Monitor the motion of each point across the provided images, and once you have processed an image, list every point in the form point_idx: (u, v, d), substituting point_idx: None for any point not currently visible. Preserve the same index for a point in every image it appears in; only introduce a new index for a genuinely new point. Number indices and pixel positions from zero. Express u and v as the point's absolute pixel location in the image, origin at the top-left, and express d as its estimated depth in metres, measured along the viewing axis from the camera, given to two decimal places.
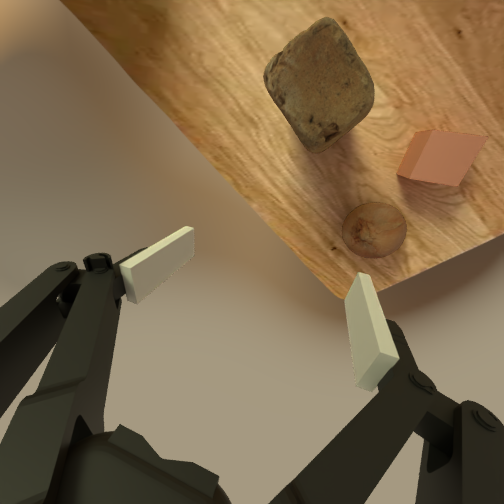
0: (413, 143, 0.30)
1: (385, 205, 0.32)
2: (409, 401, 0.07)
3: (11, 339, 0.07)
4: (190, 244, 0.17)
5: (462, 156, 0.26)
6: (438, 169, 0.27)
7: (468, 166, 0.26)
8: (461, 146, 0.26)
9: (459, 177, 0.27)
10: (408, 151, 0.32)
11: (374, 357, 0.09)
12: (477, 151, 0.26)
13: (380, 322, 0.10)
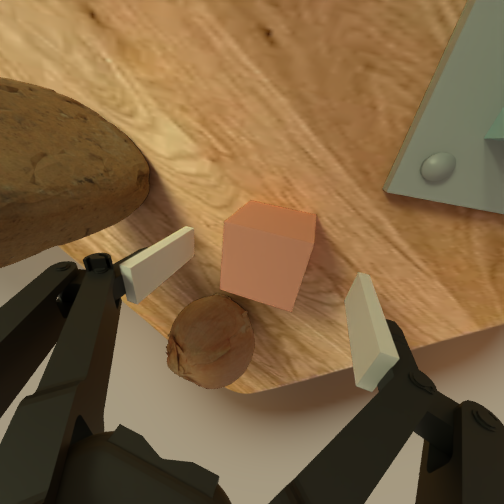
0: None
1: (212, 314, 0.20)
2: (409, 401, 0.07)
3: (11, 339, 0.07)
4: (190, 244, 0.17)
5: (284, 269, 0.14)
6: (255, 283, 0.15)
7: (297, 285, 0.14)
8: (276, 253, 0.14)
9: (289, 299, 0.15)
10: None
11: (374, 357, 0.09)
12: (304, 265, 0.13)
13: (380, 322, 0.10)
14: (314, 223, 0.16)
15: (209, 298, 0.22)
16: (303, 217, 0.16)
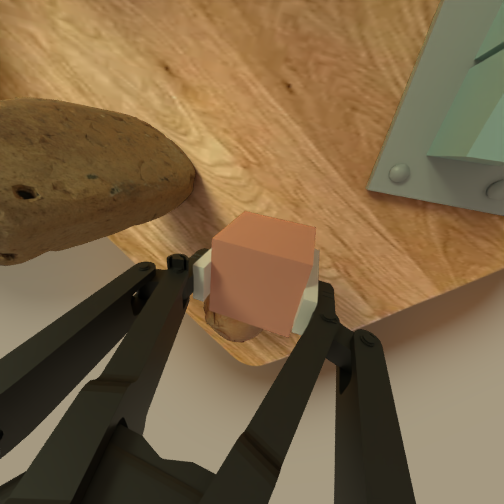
0: None
1: None
2: (322, 333, 0.09)
3: (86, 330, 0.08)
4: None
5: (279, 291, 0.12)
6: (248, 306, 0.14)
7: (294, 310, 0.13)
8: (271, 274, 0.12)
9: (286, 324, 0.13)
10: None
11: (301, 304, 0.11)
12: (301, 288, 0.12)
13: (312, 281, 0.12)
14: (313, 238, 0.14)
15: None
16: (301, 231, 0.15)
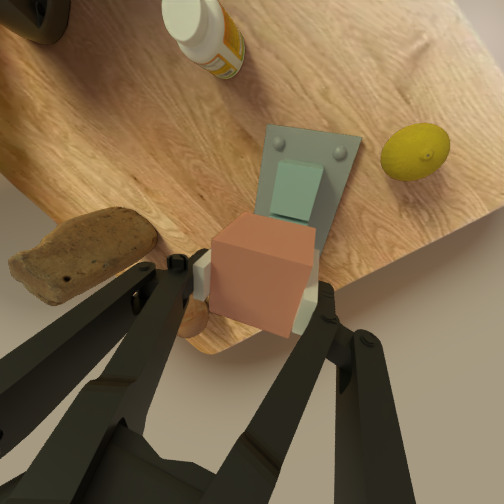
0: None
1: None
2: (322, 333, 0.09)
3: (86, 330, 0.08)
4: None
5: (279, 292, 0.12)
6: (247, 306, 0.14)
7: (294, 311, 0.13)
8: (270, 275, 0.12)
9: (286, 325, 0.13)
10: None
11: (301, 304, 0.11)
12: (301, 289, 0.12)
13: (312, 281, 0.12)
14: (313, 239, 0.14)
15: None
16: (301, 232, 0.15)
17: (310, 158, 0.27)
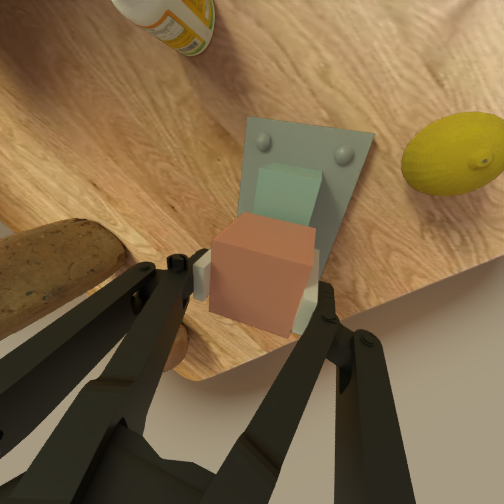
0: None
1: None
2: (322, 334, 0.09)
3: (86, 330, 0.08)
4: None
5: (279, 292, 0.12)
6: (247, 307, 0.14)
7: (294, 311, 0.13)
8: (270, 275, 0.12)
9: (286, 325, 0.13)
10: None
11: (301, 304, 0.11)
12: (301, 289, 0.12)
13: (312, 281, 0.12)
14: (313, 239, 0.14)
15: None
16: (301, 232, 0.15)
17: (305, 162, 0.21)
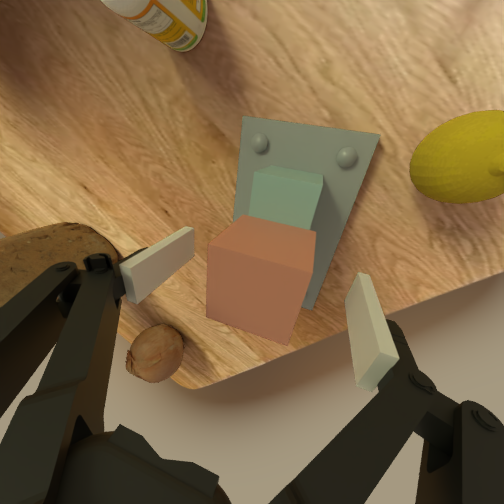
0: None
1: (152, 338, 0.34)
2: (409, 401, 0.07)
3: (11, 339, 0.07)
4: (190, 244, 0.17)
5: (277, 299, 0.12)
6: (245, 313, 0.13)
7: (294, 318, 0.12)
8: (269, 281, 0.12)
9: (285, 332, 0.13)
10: None
11: (374, 357, 0.09)
12: (301, 296, 0.11)
13: (380, 322, 0.10)
14: (313, 243, 0.14)
15: (155, 327, 0.37)
16: (301, 236, 0.14)
17: (305, 165, 0.19)
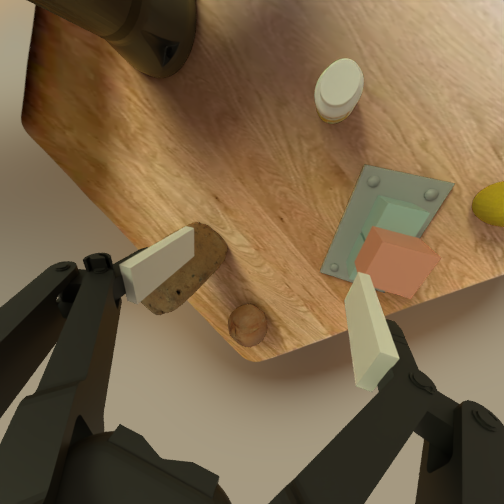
0: (369, 238, 0.28)
1: (250, 312, 0.46)
2: (409, 401, 0.07)
3: (11, 339, 0.07)
4: (190, 244, 0.17)
5: (415, 271, 0.23)
6: (390, 280, 0.25)
7: (421, 282, 0.24)
8: (413, 262, 0.23)
9: (412, 290, 0.24)
10: (365, 244, 0.29)
11: (374, 357, 0.09)
12: (430, 269, 0.23)
13: (380, 322, 0.10)
14: None
15: (247, 305, 0.48)
16: (415, 240, 0.26)
17: (401, 196, 0.31)
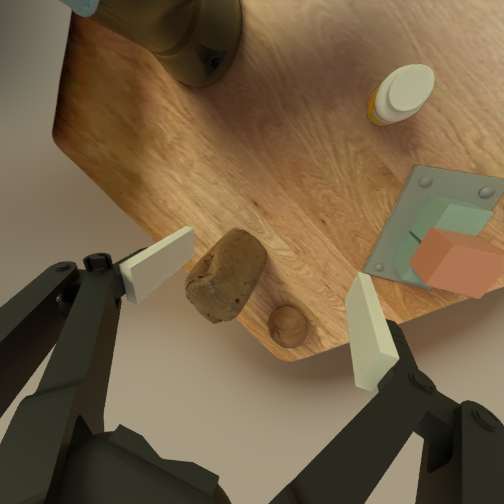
0: (429, 240, 0.28)
1: (291, 314, 0.46)
2: (409, 401, 0.07)
3: (11, 339, 0.07)
4: (190, 244, 0.17)
5: (486, 272, 0.24)
6: (458, 281, 0.25)
7: (492, 282, 0.24)
8: (485, 263, 0.23)
9: (481, 291, 0.25)
10: (423, 245, 0.29)
11: (374, 357, 0.09)
12: (503, 270, 0.23)
13: (380, 322, 0.10)
14: (492, 244, 0.25)
15: (286, 307, 0.48)
16: (479, 240, 0.26)
17: (454, 195, 0.31)
